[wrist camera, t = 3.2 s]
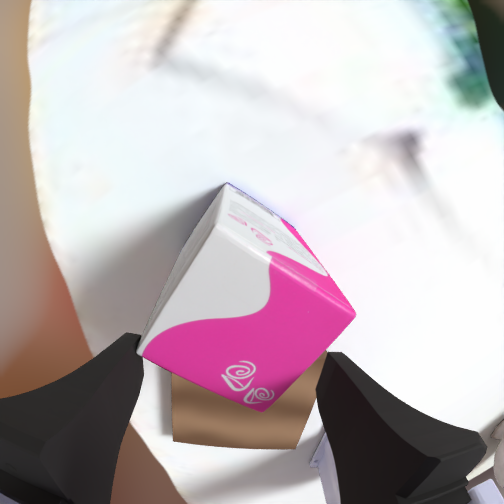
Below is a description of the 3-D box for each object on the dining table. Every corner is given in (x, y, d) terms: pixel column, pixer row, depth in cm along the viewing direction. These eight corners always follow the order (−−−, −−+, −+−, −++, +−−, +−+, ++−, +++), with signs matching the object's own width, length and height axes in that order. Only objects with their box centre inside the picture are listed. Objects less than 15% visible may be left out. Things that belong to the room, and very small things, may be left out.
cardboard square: (292, 435, 28) (295, 449, 26) (175, 426, 27) (173, 441, 25) (324, 345, 24) (330, 359, 22) (175, 331, 23) (171, 345, 21)
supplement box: (178, 254, 21) (127, 354, 10) (226, 180, 19) (218, 208, 8) (248, 297, 22) (263, 419, 11) (299, 229, 21) (367, 309, 10)
